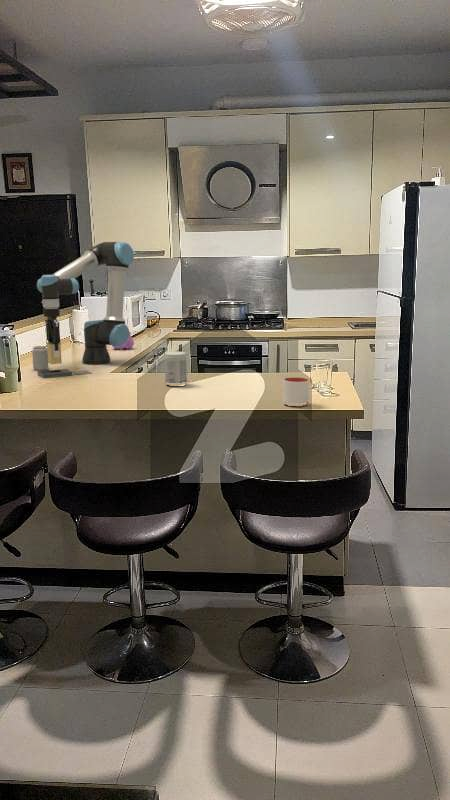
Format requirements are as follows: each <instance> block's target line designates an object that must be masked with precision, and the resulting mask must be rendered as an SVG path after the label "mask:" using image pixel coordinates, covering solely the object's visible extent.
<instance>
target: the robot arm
mask: <svg viewBox="0 0 450 800" xmlns="http://www.w3.org/2000/svg"><path fill="white" fill-rule="evenodd" d="M134 257H135V253H134V250H133V248H132V246H131V245H130V244H129V243H128V242H126V241H103V242H101V243H97V244H95V245H94V246H92V247H90V248H89V249H87V250H85V252H83V254H82V255H81V256H80V257H78V258H77V259H75V260H73V261H72V262H70V263H68V264H66V265H65V266H64V267H62V268H61V269H59V270H57V271H56V272H54V273H52V274H42V276H41V277H40V278H39V279H38V280H37V282H36V289H37V290H38V291H39V292H40V293H41V296H42V297H41V299H42V301H41V304H42V307H43V310H42V312H43V317H45V318H46V319H45V320H44V323H45V332H46V341H48V342H53V343H52V344H53V357H54V358H56V357H60V356H59V343H61V331H60V321H58V319H57V317H60V316H61V314H60V313H61V312H60V311H61V310H60V298H59V297H60V295H75V294H77V293H78V292H79V289H80V283H79V281H78V280H77V279H76V278H78V277H79V276H81V275H82V274H84V273H85V272H87V271H88V270H90V269H92V268H93V269H95V268H97V267H99V266H102V265H105V267H106V269H107V270H108V279H107V280H108V281H107V298H106V302H107V303H106V313H105V314H106V315H105V317H103V319H98V320H89V321H85V322H84V325H83V335H84V338H83V339H84V351H83V356H82V359H81V363H82V364H86V365H104V364H109V363H111V356H110V353H109V352H108V347H107V346H112V347H113V346H121V345H123V344H124V343H125V342H126V341H127V340H128V337H129V332H130V329H129V327H128V326H127V325H126V320H125V319H124V300H125V283H126V272H127V271H128V270H129V266H130V265H131V264H132V263H133V262H134V259H135V258H134Z"/></svg>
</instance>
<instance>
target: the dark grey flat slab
mask: <svg viewBox="0 0 450 800" xmlns="http://www.w3.org/2000/svg"><path fill="white" fill-rule="evenodd" d="M72 372H73V371H72V370H70V369H67V368H59V369H49V370H48V369H47V370H43V371H37V376H38V377H40V378H42V379H50V378H59V377H70V376H71V377H72V376H73V373H72Z"/></svg>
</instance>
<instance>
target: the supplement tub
mask: <svg viewBox="0 0 450 800" xmlns="http://www.w3.org/2000/svg"><path fill="white" fill-rule="evenodd" d="M187 371H188V369H187V354H186V352H184V351H168V352H164V374H165V376H164V379H165V383H166V382H169V383H182V382H186V381H187V382H188V380H187V379H188V378H187V377H188V376H187Z"/></svg>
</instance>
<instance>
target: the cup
mask: <svg viewBox="0 0 450 800" xmlns="http://www.w3.org/2000/svg"><path fill="white" fill-rule="evenodd" d="M309 397H310V380H309V379H308V378H305V377H296V376H295V377H285V378H283V380H282V402H283V401H285V402H289V403H304V402H307V401H308V400H309ZM308 402H309V401H308Z"/></svg>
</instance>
